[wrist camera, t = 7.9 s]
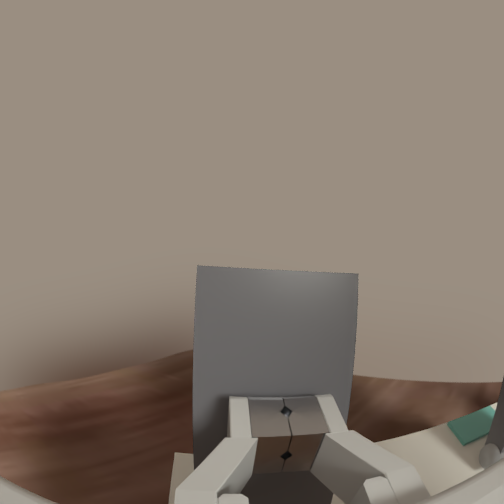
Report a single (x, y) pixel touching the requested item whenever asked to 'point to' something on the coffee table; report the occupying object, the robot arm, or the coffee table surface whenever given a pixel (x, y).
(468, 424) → the switch unit
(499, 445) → the inner lever
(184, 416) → the coffee table surface
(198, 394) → the outer lever
